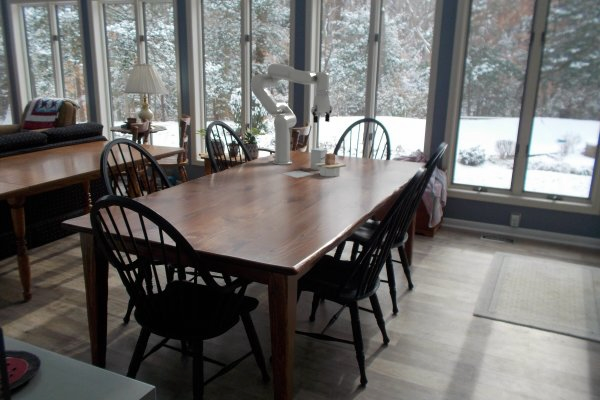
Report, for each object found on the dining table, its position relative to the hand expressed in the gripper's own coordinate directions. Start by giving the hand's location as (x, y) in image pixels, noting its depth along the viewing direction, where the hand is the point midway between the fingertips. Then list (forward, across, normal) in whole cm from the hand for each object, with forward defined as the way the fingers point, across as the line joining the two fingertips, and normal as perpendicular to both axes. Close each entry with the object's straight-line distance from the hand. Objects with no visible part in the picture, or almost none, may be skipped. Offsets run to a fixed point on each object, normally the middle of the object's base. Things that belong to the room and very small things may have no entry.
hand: (321, 122), depth 302 cm
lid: (+23, +10, +19) cm, 31 cm away
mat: (+28, +24, +7) cm, 38 cm away
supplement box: (+28, +4, +3) cm, 29 cm away
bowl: (+28, +10, +19) cm, 36 cm away
